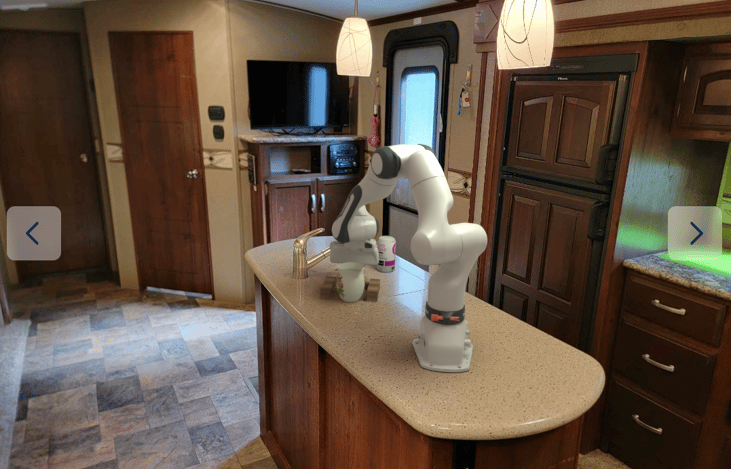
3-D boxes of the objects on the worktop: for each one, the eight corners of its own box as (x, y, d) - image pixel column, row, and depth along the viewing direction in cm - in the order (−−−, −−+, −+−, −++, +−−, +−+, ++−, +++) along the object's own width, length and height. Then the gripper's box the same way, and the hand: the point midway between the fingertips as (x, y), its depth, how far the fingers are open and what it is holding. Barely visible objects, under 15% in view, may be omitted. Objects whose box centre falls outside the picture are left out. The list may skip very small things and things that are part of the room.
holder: (377, 301, 184) (377, 292, 183) (320, 298, 186) (320, 288, 185) (379, 288, 198) (380, 279, 197) (326, 285, 200) (326, 276, 199)
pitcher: (352, 288, 198) (352, 255, 194) (372, 304, 182) (373, 269, 178) (327, 292, 193) (327, 259, 189) (345, 309, 177) (346, 273, 174)
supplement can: (396, 267, 223) (397, 236, 219) (392, 273, 215) (394, 241, 211) (378, 266, 225) (379, 234, 221) (375, 271, 217) (375, 239, 213)
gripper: (328, 242, 196) (328, 274, 200) (378, 245, 194) (377, 277, 198) (331, 238, 202) (330, 269, 206) (379, 240, 200) (378, 272, 204)
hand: (354, 273), depth 202 cm, fingers closed
